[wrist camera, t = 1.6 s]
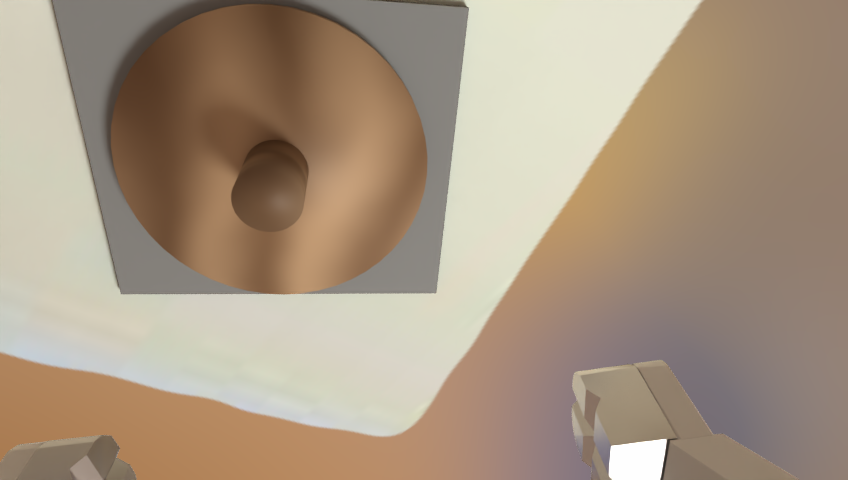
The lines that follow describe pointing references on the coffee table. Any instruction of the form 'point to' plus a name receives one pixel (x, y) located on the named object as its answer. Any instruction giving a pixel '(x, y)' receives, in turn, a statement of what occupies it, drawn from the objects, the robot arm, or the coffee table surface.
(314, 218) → the lid
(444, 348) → the coffee table surface
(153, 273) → the mat
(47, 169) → the coffee table surface
